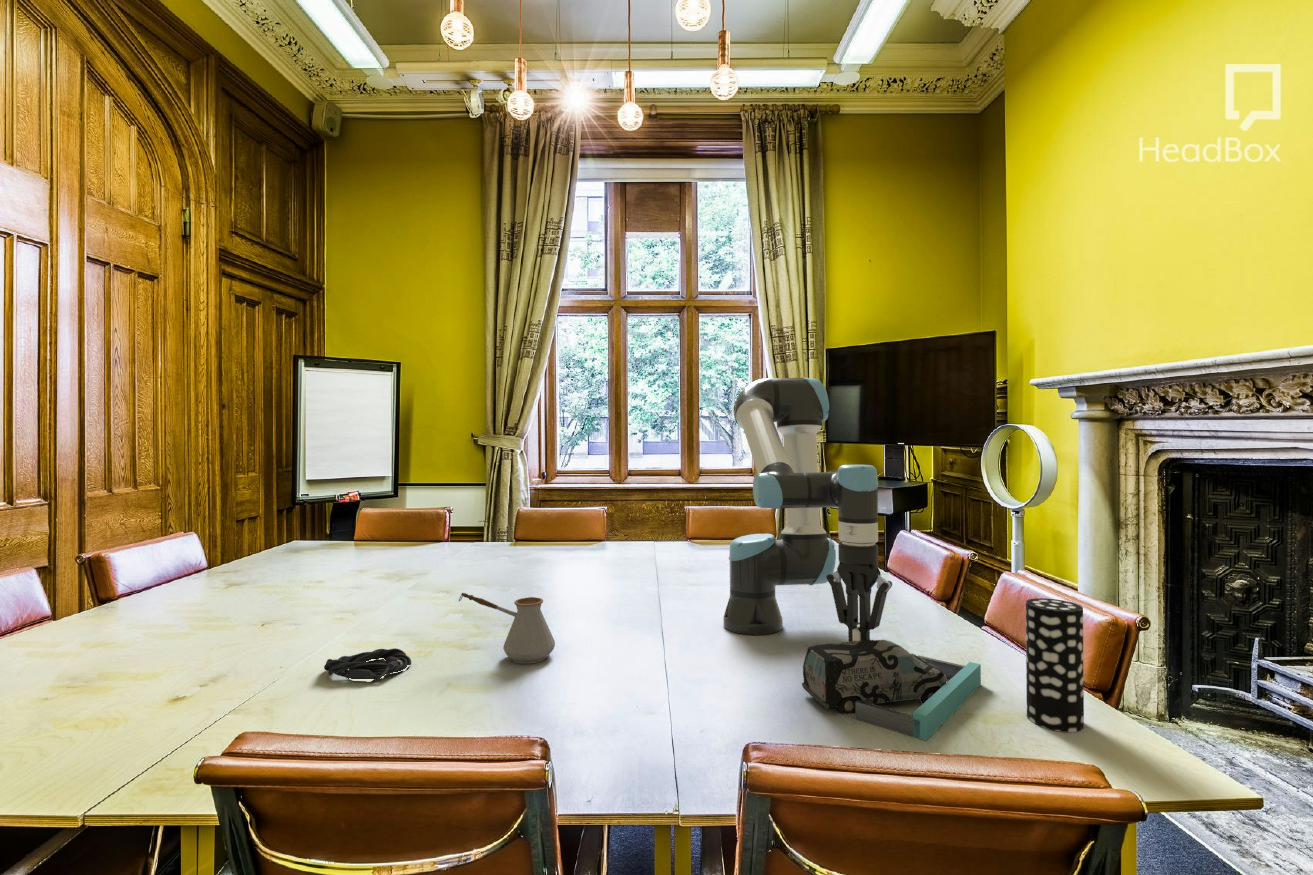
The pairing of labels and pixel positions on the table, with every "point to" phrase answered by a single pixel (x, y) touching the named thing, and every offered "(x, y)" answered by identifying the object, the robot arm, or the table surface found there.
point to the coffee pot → (524, 630)
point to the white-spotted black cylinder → (1055, 664)
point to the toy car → (867, 674)
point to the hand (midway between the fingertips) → (859, 661)
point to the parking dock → (927, 702)
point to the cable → (368, 664)
